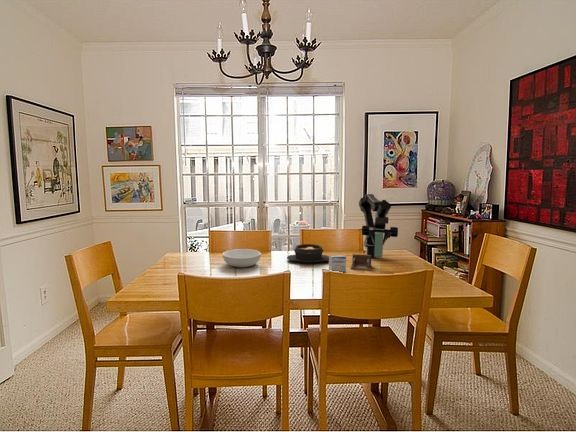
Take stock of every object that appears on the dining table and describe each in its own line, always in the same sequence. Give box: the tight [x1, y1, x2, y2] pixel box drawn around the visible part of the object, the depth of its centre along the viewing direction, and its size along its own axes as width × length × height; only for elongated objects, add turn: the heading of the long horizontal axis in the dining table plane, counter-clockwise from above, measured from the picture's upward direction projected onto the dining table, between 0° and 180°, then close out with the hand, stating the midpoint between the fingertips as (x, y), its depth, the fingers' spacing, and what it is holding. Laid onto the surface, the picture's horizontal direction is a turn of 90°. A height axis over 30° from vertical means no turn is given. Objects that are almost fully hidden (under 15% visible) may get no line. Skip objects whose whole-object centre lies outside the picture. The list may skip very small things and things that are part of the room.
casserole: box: [286, 243, 330, 264], centre depth 205 cm, size 25×19×8 cm
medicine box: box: [328, 254, 347, 272], centre depth 182 cm, size 8×4×9 cm, turn 101°
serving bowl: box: [222, 248, 262, 268], centre depth 195 cm, size 21×21×7 cm
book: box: [374, 232, 384, 258], centre depth 188 cm, size 5×4×12 cm
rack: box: [350, 253, 372, 271], centre depth 192 cm, size 10×10×6 cm
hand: (378, 244), depth 186 cm, fingers closed on book, 4 cm apart
